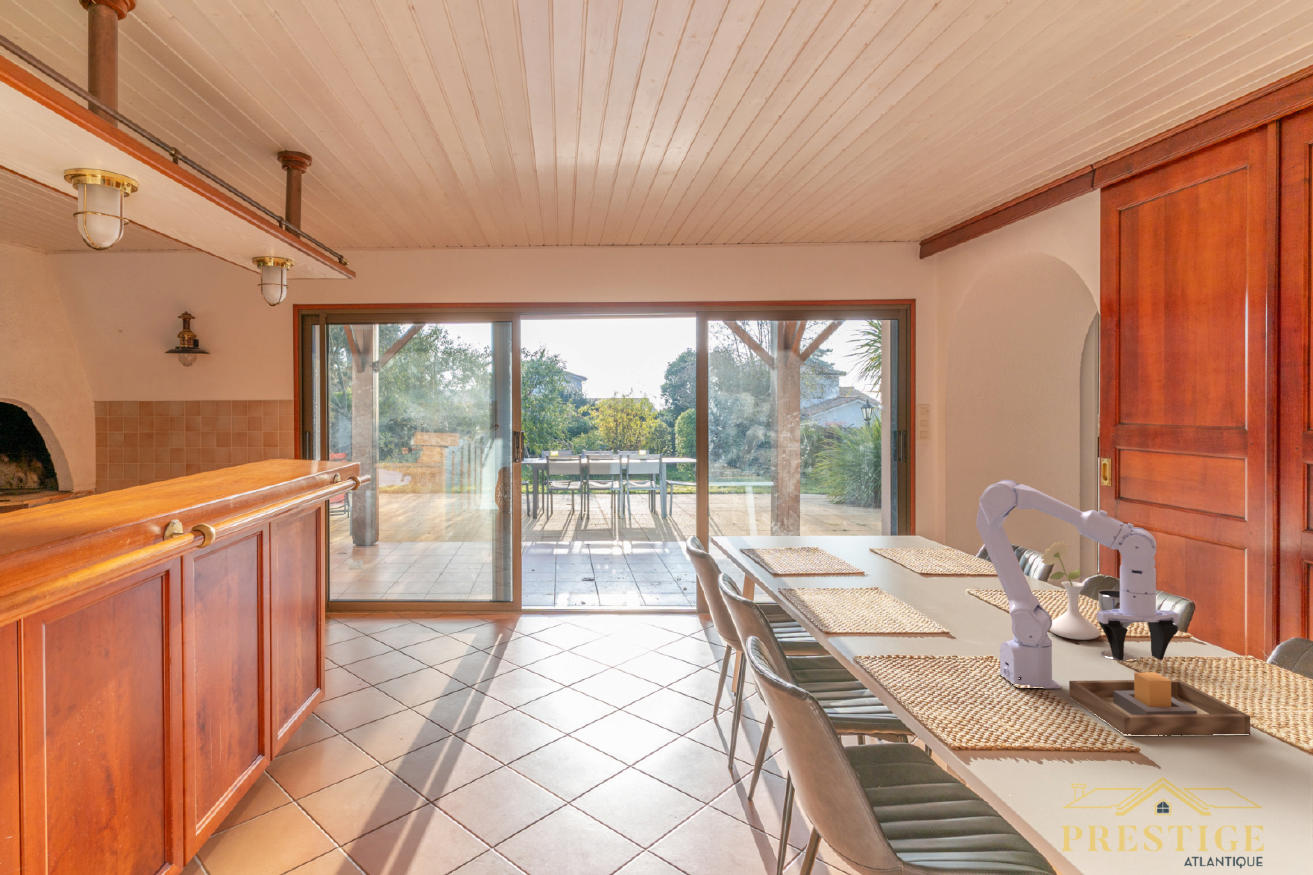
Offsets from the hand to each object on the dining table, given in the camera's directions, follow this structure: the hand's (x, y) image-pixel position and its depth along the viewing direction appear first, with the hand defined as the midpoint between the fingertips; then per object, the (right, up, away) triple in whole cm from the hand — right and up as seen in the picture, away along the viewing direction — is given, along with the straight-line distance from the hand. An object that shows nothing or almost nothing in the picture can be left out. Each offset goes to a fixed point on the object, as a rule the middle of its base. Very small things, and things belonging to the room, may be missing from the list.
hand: (1137, 658), depth 126 cm
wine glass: (+15, -9, +25) cm, 30 cm away
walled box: (0, -9, -5) cm, 10 cm away
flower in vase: (+12, -8, +39) cm, 42 cm away
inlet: (0, -9, -5) cm, 10 cm away
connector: (0, -9, -4) cm, 10 cm away
